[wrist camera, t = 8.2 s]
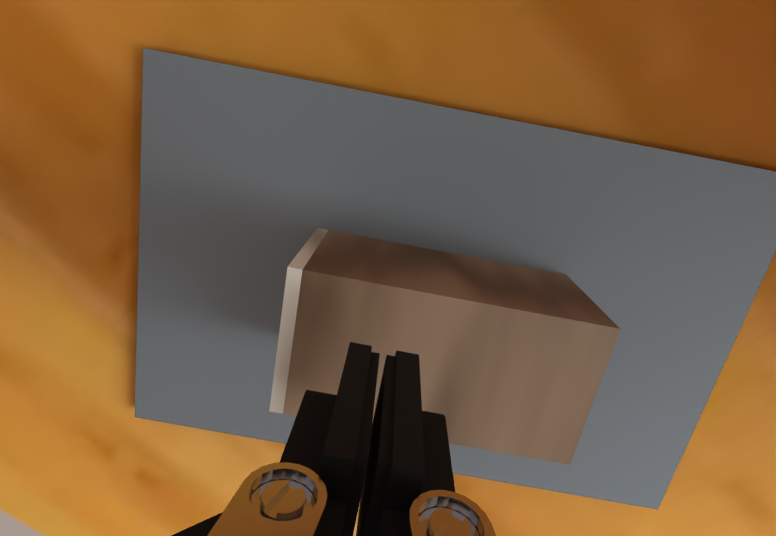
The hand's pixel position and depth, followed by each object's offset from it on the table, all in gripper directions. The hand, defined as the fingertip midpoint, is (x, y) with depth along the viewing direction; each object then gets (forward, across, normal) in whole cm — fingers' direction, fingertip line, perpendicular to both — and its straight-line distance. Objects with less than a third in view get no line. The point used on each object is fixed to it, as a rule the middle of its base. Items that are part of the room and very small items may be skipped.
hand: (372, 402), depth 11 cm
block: (+4, +3, 0) cm, 5 cm away
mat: (+7, -2, 0) cm, 7 cm away
